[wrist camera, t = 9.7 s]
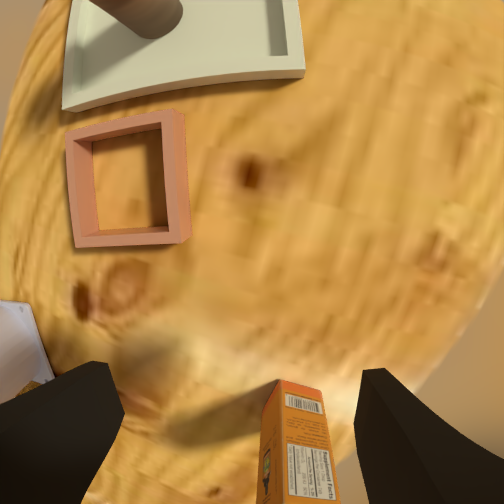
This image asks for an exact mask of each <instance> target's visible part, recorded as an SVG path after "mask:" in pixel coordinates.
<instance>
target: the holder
mask: <svg viewBox="0 0 504 504" xmlns="http://www.w3.org/2000/svg"><path fill="white" fill-rule="evenodd" d="M161 128H162V146H163V163H164V178H165V191H166V203H167V214H168V225H169V226H158V227H142V228H127V229H113V230H99V226H98V218H97V209H96V200H95V189H94V176H93V161H92V142H93V141H98V140H102V139H107V138H111V137H116V136H121V135H127V134H132V133H137V132H143V131H149V130H155V129H161ZM65 145H66V167H67V181H68V193H69V203H70V212H71V220H72V228H73V235H74V241H75V248H81V247H102V246H124V245H148V244H172V243H182V242H184V241H185V240H186V239H188V238H189V237H190V236H192V226H191V215H190V203H189V190H188V175H187V160H186V142H185V121H184V114H182V113H180V112H178V111H176V110H174V109H167V110H161V111H155V112H150V113H144V114H139V115H134V116H129V117H124V118H120V119H115V120H111V121H107V122H103V123H98V124H94V125H90V126H87V127H83V128H79V129H75V130H72V131H68V132H65Z"/></svg>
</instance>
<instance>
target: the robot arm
mask: <svg viewBox="0 0 504 504" xmlns="http://www.w3.org/2000/svg"><path fill="white" fill-rule="evenodd" d="M30 381H35V382H38V383H41V384H42V385H41V386H39V387H37V388H35V389H33V390H30V391H28V392H26V393H24V394H22V395H19V396H17V397H15V396H16V395H17V394H18V393H19V392H20V391H21V390H22V389H23V388H24V387H25V386H26V385H27V384H28V383H29V382H30ZM14 397H15V398H14ZM124 415H125V412H124V410H123V407H122V404H121V402H120V399H119V396H118V393H117V390H116V387H115V384H114V381H113V378H112V375H111V372H110V369H109V366H108V363H103V362H97V361H90V362H87V363H85V364H82V365H80V366H78V367H76V368H74V369H72V370H70V371H68V372H66V373H64V374H62V375H60V376H58V377H56V378H55V377H54V374H53V372H52V369H51V367H50V364H49V361H48V359H47V356H46V353H45V350H44V347H43V344H42V341H41V338H40V335H39V332H38V329H37V326H36V323H35V319H34V316H33V312H32V309H31V306H30V305H29V304H28V303H26V302H16V301H7V300H0V504H81V502H82V499H83V497H84V495H85V493H86V491H87V489H88V487H89V486H90V484H91V482H92V480H93V478H94V477H95V475H96V473H97V471H98V470H99V468H100V466H101V464H102V462H103V461H104V459H105V457H106V455H107V454H108V452H109V450H110V448H111V446H112V444H113V443H114V441H115V439H116V436H117V434H118V431H119V429H120V426H121V423H122V420H123V417H124ZM354 431H355V440H356V447H357V455H358V458H359V463H360V467H361V471H362V475H363V479H364V483H365V487H366V491H367V496H368V500H369V504H504V459H502V458H500V457H498V456H496V455H495V454H493V453H491V452H489V451H488V450H486V449H484V448H483V447H481V446H479V445H478V444H476V443H474V442H473V441H471V440H470V439H468V438H467V437H465V436H464V435H463V434H461V433H460V432H458V431H457V430H456V429H454V428H453V427H452V426H450V425H449V424H448V423H446V422H445V421H444V420H443V419H441V418H440V417H439V416H438V415H436V414H435V413H434V412H433V411H432V410H430V409H429V408H428V407H427V406H426V405H425V404H424V403H422V402H421V401H420V400H419V399H418V398H417V397H416V396H415V395H413V394H412V393H411V392H410V391H409V390H408V389H407V388H406V387H405V386H404V385H403V384H402V383H400V382H399V381H398V380H397V379H396V378H395V377H394V376H393V375H392V374H391V373H390V372H389V371H388V370H386V369H385V368H378V369H368V370H363V372H362V379H361V385H360V391H359V397H358V403H357V409H356V414H355V419H354Z"/></svg>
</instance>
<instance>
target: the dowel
mask: <svg viewBox="0 0 504 504" xmlns="http://www.w3.org/2000/svg"><path fill="white" fill-rule="evenodd" d="M89 1H90V2H92V3H93V4H95V5H96V6H98V7H99V8H101V9H102V10H104V11H105V12H107V13H108V14H109V15H111V16H112V17H114V18H115V19H117V20H118V21H119V22H121V23H122V24H123V25H125V26H126V27H128V28H129V29H130V30H132V31H133V32H134V33H136V34H137V35H138V36H140V37H142V38H145V39H156V38H159V37H162V36H164V35H166V34H168V33H169V32H171V31H172V30H173V29H174V28H175V27H176V26H177V25H178V24H179V22H180V20H181V18H182V15H183V6H182V4H181V2H180V1H179V0H89Z"/></svg>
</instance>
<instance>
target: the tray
mask: <svg viewBox="0 0 504 504" xmlns="http://www.w3.org/2000/svg"><path fill="white" fill-rule="evenodd" d="M179 1H180V2H181V4H182V6H183V15H182V18H181V20H180V22H179V24H178V25H177V26H176V27H175V28H174V29H173V30H172V31H171V32H169V33H168V34H166V35H164V36H162V37H159V38H156V39H145V38H142V37H140V36H138V35H137V34H136V33H134V32H133V31H132V30H130V29H129V28H128V27H126V26H125V25H123V24H122V23H121V22H119V21H118V20H117V19H115V18H114V17H112V16H111V15H109V14H108V13H107V12H105V11H104V10H102V9H101V8H99V7H98V6H96V5H95V4H93V3H92V2H90V1H89V0H73V1H72V7H71V13H70V19H69V25H68V33H67V40H66V49H65V59H64V72H63V89H62V110H66V111H71V112H76V113H77V112H80V111H84V110H87V109H91V108H94V107H98V106H102V105H106V104H109V103H113V102H117V101H122V100H126V99H130V98H135V97H139V96H144V95H149V94H154V93H159V92H165V91H170V90H176V89H182V88H189V87H195V86H203V85H210V84H219V83H228V82H238V81H250V80H265V79H287V78H304V74H305V70H306V68H305V58H304V48H303V39H302V31H301V22H300V14H299V7H298V0H179Z"/></svg>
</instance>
